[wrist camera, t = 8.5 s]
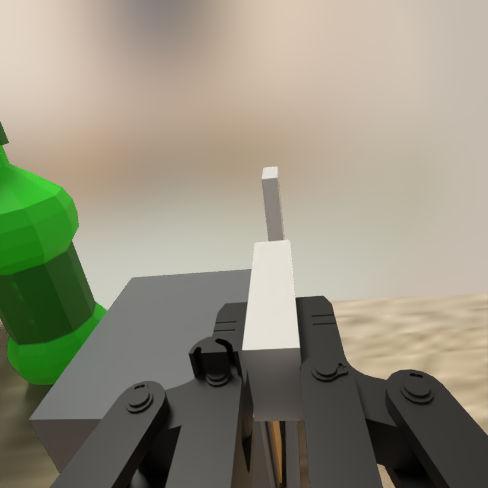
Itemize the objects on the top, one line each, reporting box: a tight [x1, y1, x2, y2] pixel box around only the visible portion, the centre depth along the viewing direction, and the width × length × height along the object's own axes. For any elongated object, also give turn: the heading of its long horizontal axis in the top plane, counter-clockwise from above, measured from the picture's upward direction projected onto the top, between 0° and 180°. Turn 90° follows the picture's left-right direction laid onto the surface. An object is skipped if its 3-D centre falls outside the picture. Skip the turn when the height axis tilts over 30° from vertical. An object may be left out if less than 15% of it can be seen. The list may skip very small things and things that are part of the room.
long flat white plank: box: [262, 166, 284, 241], centre depth 27 cm, size 1×5×18 cm, turn 176°
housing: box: [29, 269, 301, 488], centre depth 26 cm, size 13×16×11 cm
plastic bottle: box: [0, 122, 107, 385], centre depth 32 cm, size 10×10×25 cm
